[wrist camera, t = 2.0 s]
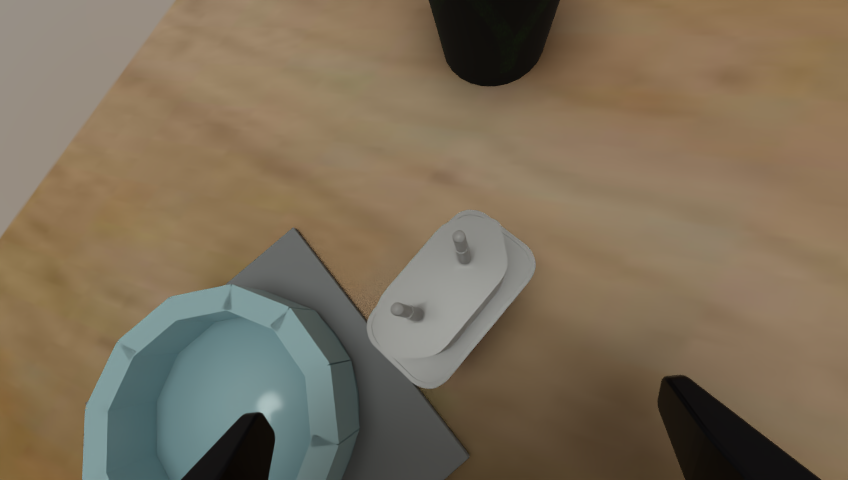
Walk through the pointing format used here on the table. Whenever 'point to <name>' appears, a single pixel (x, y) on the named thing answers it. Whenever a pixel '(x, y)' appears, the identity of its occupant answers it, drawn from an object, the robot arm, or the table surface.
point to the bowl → (222, 388)
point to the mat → (362, 373)
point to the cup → (493, 36)
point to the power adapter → (449, 297)
